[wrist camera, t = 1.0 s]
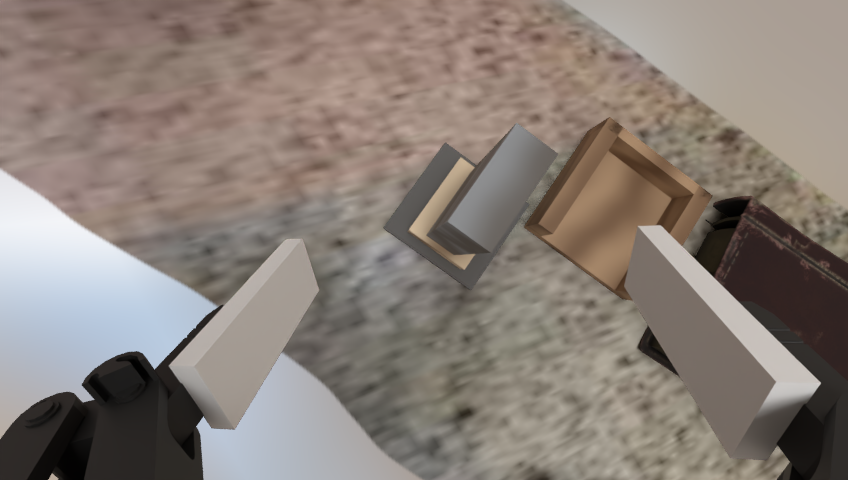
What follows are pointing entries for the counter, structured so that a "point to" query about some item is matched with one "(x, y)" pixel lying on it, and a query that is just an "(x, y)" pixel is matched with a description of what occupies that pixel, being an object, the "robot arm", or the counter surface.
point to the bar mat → (417, 203)
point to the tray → (614, 203)
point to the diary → (776, 278)
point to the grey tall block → (483, 198)
